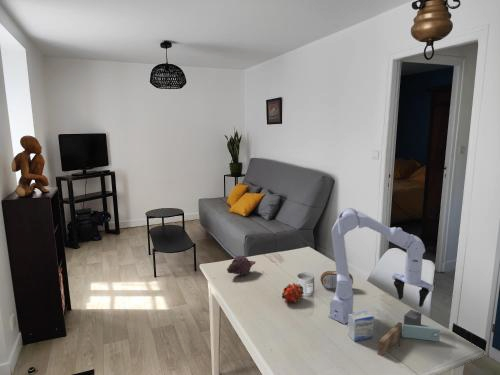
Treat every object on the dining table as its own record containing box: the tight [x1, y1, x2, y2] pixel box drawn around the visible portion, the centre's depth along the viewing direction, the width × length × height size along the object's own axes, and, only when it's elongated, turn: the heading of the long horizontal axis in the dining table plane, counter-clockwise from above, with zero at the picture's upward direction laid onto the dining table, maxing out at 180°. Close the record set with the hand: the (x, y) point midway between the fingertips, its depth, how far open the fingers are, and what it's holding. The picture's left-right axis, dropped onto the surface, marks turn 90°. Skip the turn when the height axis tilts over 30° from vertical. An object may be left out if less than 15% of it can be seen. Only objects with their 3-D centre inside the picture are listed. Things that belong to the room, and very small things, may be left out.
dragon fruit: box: [281, 282, 305, 304], centre depth 152 cm, size 8×8×12 cm
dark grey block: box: [403, 309, 422, 326], centre depth 132 cm, size 6×4×5 cm, turn 133°
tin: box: [320, 270, 354, 290], centre depth 163 cm, size 15×3×8 cm, turn 84°
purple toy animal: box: [226, 255, 256, 276], centre depth 179 cm, size 18×10×10 cm, turn 129°
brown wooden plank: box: [377, 321, 403, 357], centre depth 121 cm, size 16×2×5 cm, turn 133°
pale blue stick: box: [402, 323, 441, 342], centre depth 123 cm, size 12×2×4 cm, turn 76°
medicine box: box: [347, 310, 375, 342], centre depth 126 cm, size 8×4×9 cm, turn 105°
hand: (410, 302), depth 132 cm, fingers open, 7 cm apart
